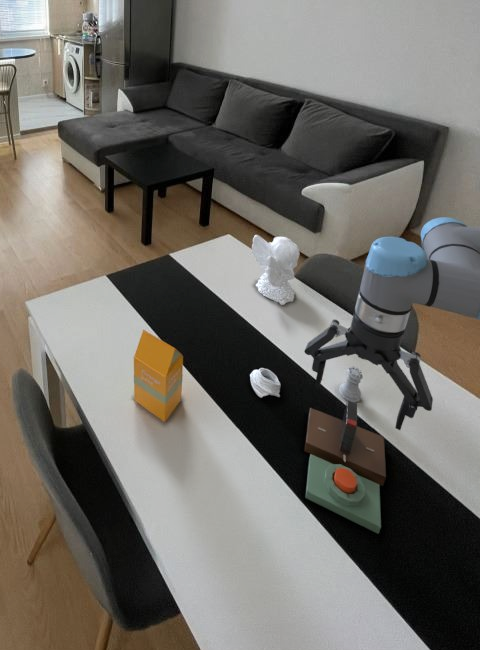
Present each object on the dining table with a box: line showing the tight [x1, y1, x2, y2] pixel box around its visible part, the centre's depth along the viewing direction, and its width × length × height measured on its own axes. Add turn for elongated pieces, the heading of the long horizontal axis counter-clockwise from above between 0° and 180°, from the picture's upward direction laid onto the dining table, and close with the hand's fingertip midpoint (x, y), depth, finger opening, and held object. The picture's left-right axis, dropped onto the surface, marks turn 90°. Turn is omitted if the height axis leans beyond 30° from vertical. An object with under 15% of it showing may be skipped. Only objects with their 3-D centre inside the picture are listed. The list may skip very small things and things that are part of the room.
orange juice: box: [133, 329, 184, 423], centre depth 101 cm, size 8×9×20 cm
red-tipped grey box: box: [340, 400, 358, 454], centre depth 89 cm, size 6×2×8 cm, turn 148°
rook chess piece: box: [338, 365, 364, 403], centre depth 101 cm, size 4×4×8 cm
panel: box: [304, 407, 387, 487], centre depth 91 cm, size 14×10×3 cm
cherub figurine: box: [251, 234, 301, 306], centre depth 132 cm, size 13×12×20 cm
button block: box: [305, 454, 382, 535], centre depth 83 cm, size 12×8×4 cm, turn 59°
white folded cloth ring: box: [249, 367, 282, 399], centre depth 106 cm, size 8×7×5 cm
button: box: [334, 468, 357, 494], centre depth 82 cm, size 4×4×2 cm
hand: (356, 402), depth 83 cm, fingers open, 13 cm apart
